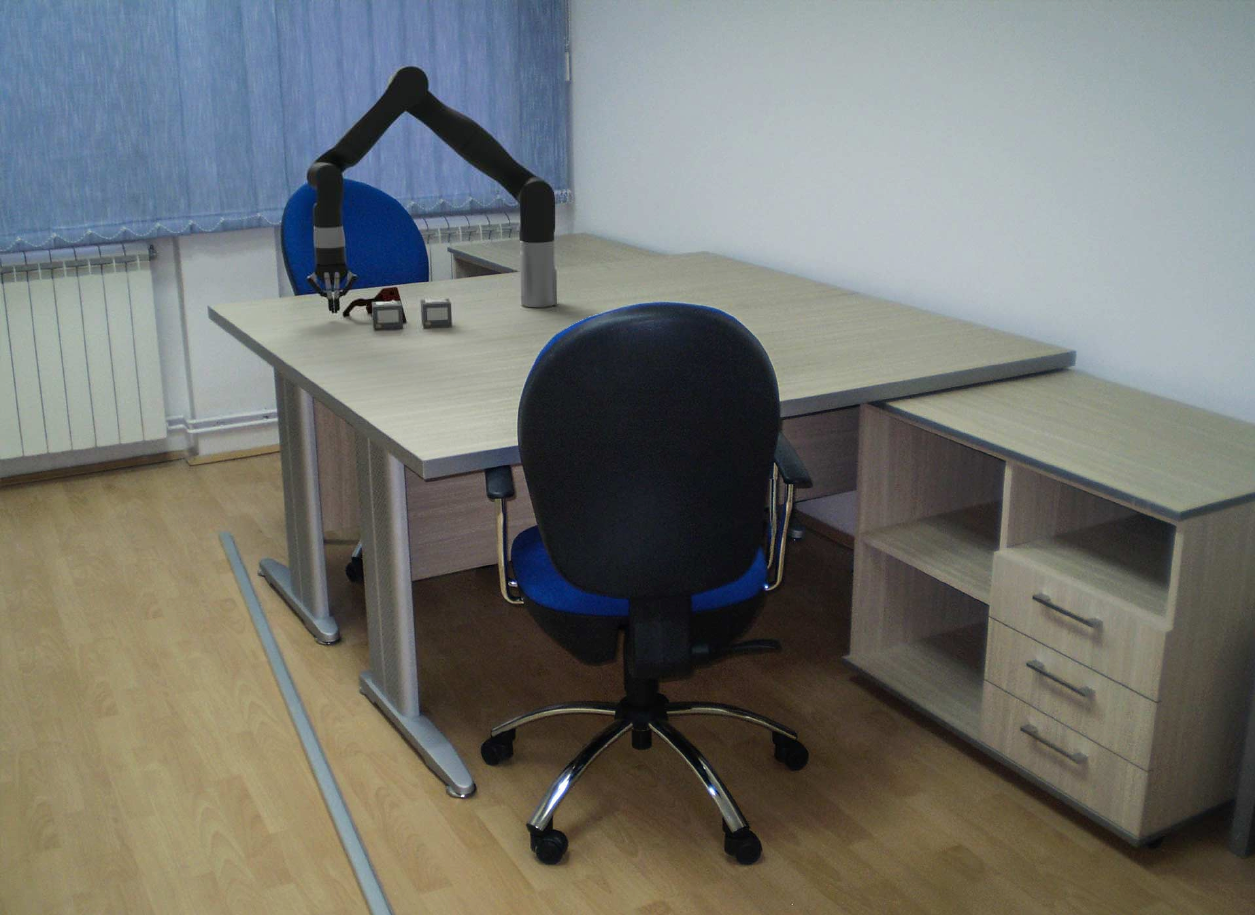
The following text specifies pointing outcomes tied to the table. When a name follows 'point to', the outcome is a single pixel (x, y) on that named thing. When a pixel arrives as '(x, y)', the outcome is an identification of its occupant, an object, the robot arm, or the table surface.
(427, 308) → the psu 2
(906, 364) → the table surface
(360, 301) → the bracket
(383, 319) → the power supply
